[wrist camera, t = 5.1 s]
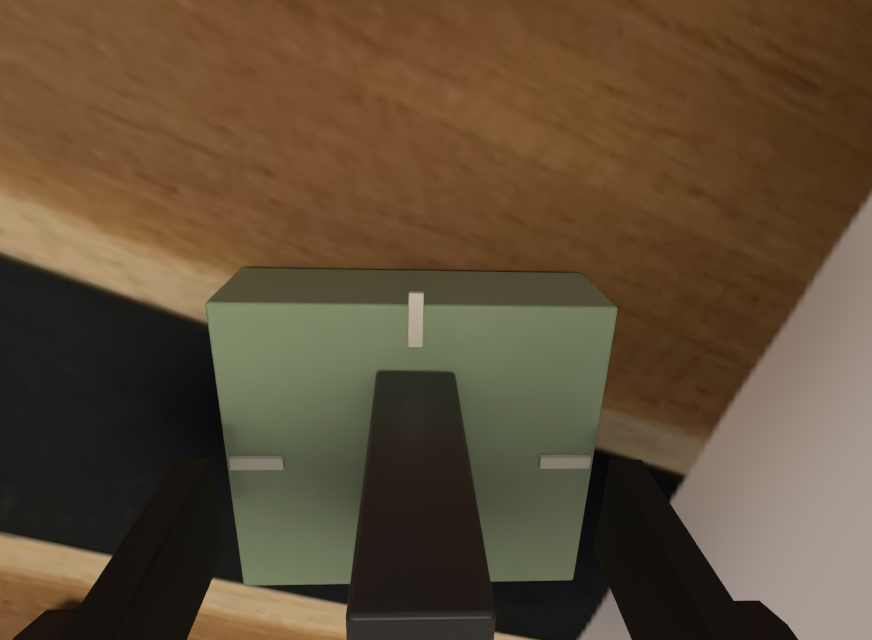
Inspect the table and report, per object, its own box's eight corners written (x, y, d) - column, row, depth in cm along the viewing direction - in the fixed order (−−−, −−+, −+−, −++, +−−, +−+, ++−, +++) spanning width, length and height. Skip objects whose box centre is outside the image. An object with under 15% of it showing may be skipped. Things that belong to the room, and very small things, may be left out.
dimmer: (584, 261, 16) (624, 295, 13) (548, 520, 19) (573, 594, 16) (239, 255, 15) (198, 290, 12) (268, 523, 19) (242, 600, 16)
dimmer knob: (375, 370, 13) (343, 634, 7) (455, 371, 14) (501, 632, 7) (376, 540, 15) (351, 875, 9) (445, 540, 16) (472, 870, 9)
